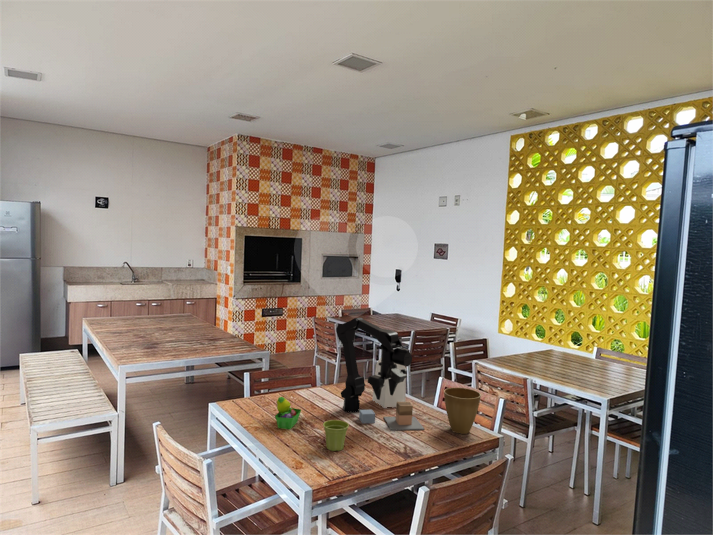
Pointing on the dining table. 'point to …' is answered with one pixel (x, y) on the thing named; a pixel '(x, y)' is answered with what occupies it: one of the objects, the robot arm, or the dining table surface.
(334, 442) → the plant pot
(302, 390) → the dining table surface
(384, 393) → the milk
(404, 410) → the walnut block
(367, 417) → the slate block
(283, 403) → the fruit basket
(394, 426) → the tower base
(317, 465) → the dining table surface
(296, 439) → the dining table surface
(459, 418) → the plant pot
